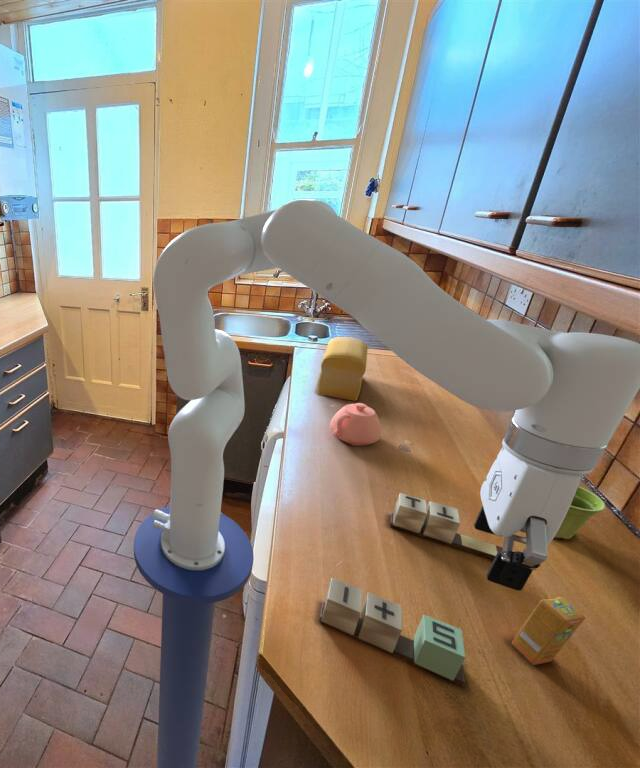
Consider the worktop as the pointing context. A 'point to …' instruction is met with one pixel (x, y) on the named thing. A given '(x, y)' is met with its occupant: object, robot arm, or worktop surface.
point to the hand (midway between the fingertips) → (494, 555)
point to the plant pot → (579, 512)
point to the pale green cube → (439, 647)
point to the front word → (370, 621)
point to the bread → (343, 368)
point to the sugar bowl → (356, 424)
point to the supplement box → (547, 630)
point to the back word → (437, 525)
